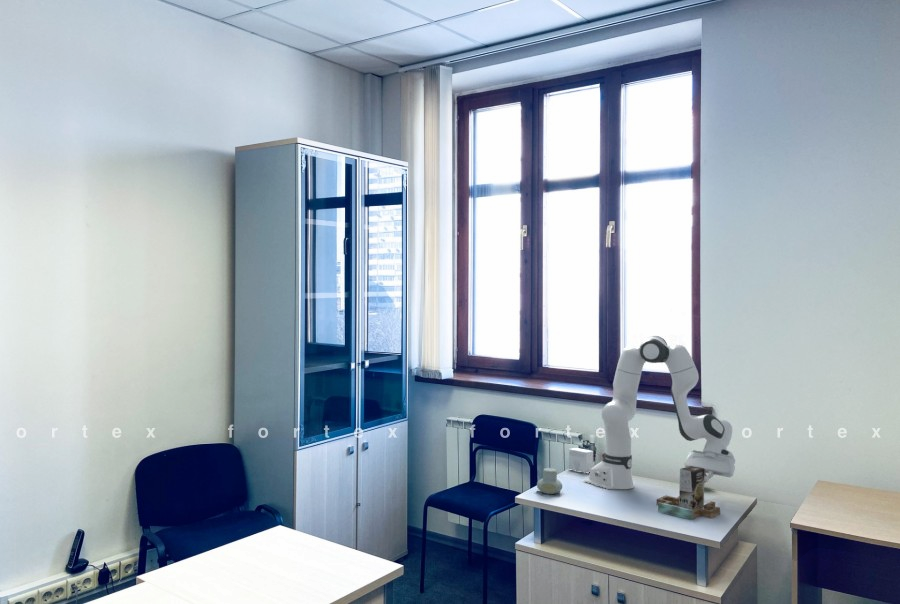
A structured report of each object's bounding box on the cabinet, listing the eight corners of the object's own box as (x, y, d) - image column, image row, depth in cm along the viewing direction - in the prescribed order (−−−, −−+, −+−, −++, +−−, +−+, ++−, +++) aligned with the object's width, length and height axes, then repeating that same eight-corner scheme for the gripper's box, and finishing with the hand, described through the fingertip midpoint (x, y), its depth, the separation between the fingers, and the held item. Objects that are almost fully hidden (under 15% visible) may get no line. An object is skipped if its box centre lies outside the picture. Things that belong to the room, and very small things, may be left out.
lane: (647, 509, 275) (647, 500, 275) (672, 498, 290) (672, 490, 290) (703, 522, 259) (703, 513, 259) (726, 510, 274) (726, 502, 274)
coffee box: (693, 511, 272) (693, 471, 272) (678, 507, 277) (679, 468, 277) (704, 507, 278) (705, 468, 278) (690, 503, 283) (690, 465, 283)
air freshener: (562, 491, 299) (563, 468, 299) (561, 496, 291) (561, 472, 291) (538, 488, 301) (538, 466, 301) (535, 494, 293) (536, 470, 293)
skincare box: (593, 471, 333) (593, 450, 333) (585, 474, 329) (586, 452, 329) (575, 467, 341) (576, 446, 341) (568, 470, 336) (568, 448, 336)
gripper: (688, 445, 298) (677, 471, 291) (735, 453, 284) (725, 480, 277) (692, 454, 301) (682, 480, 294) (739, 462, 287) (729, 489, 280)
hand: (703, 480), depth 285 cm, fingers closed
